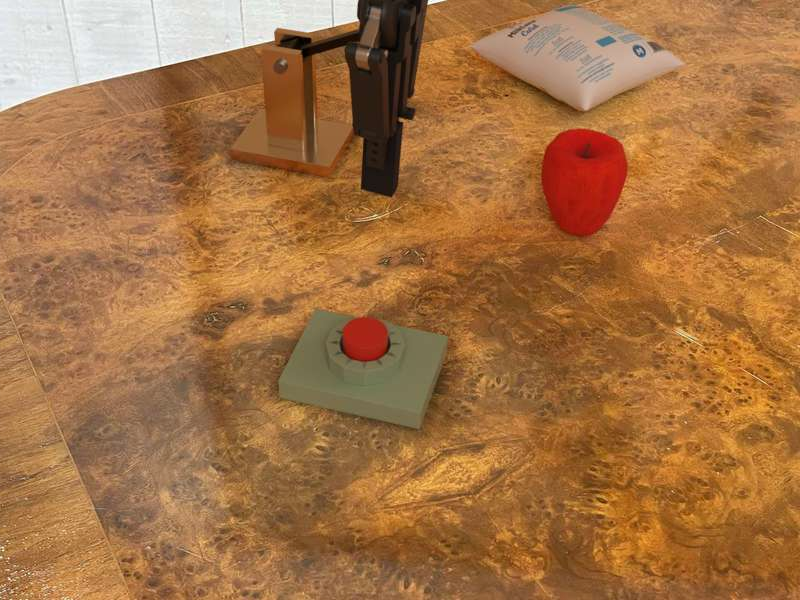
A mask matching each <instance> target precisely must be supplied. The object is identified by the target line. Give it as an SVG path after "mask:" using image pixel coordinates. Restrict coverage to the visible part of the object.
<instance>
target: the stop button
mask: <svg viewBox="0 0 800 600" xmlns="http://www.w3.org/2000/svg"><path fill="white" fill-rule="evenodd" d="M370 317H371V316H362V317H360V318H356V319H353V320H351V321H350V322H348V323H347V324H346V325H345V327H344V328H343V350H344V352H345V354H346V355H347V356H348V357H349V358H351V359H353V360H357V361H361V362H369V361H375V360H377V359H379V358H381V357H382V356H383V355H384V354H385V353H386V351H387V347H388V330H387V328H386V326H385V325H384V324H383V323H382V322H381V321H379V320H377V319H378V318H376V319H374V318H375V317H371V318H370Z"/></svg>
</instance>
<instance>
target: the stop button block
mask: <svg viewBox="0 0 800 600" xmlns="http://www.w3.org/2000/svg"><path fill="white" fill-rule="evenodd" d="M369 317H370V318H372V316H369ZM356 318H360V317H359V316H354V315H350V314H345V313H340V312H335V311H332V310H331V311H330V310H326V309H321V308H316V307H315V309H314V310H313V312H312V313H311V316H310V318H309V320H308V322H307V324H306V326H305V328H304V330H303V331H302V334H301V336H300V338H299V339H298V341H297V343H296V345H295V347H294V349H293V351H292V353H291V355H290V357H289V359H288V361H287V363H286V365H285V367H284V368H283V371H282V372H281V374H280V376H279V379H278V380H277V383H278V385H277V386H278V396H279V398H280V399H284V400H288V401H293V402H298V403H302V404H306V405H310V406H315V407H319V408H324V409H326V410H327V409H328V410H333V411H336V412H340V413H341V412H342V413H346V414H350V415H355V416H359V417H364V418H367V419H373V420H376V421H380V422H385V423H389V424H394V425H397V426H401V427H402V426H403V427H406V428H410V429H411V428H412V429H417V430H421V428H422V427H421V426H422V424H423V421H424V418H425V416H426V413H427V410H428V407H429V405H430V402H431V399H432V396H433V393H434V392H435V391H434V390H435V387H436V385H437V382H438V379H439V377H440V374H441V371H442V368H443V365H444V362H445V359H446V357H447V354H448V345H449V335H446V334H441V333H438V332H437V333H436V332H431V331H426V330H422V329H417V328H412V327H407V326H403V325H398V324H393V323H390V322H389V321H387V320H386V319H380V318H375V317H373V318H374V319H377V320H379V321H381V322H382V323H383V324H384V325H385V326H386V328H387V330H388V347H387V351H386V353H385V354H384V355H383V356H382V357H381V358H379V359H377V360H375V361H369V362H361V361H357V360H353V359H351V358H349V357H348V356H347V355H346V354H345V352H344V350H343V328H344V327H345V325H346V324H347V323H348V322H350V321H351V320H353V319H356Z"/></svg>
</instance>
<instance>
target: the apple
mask: <svg viewBox="0 0 800 600" xmlns="http://www.w3.org/2000/svg"><path fill="white" fill-rule="evenodd" d="M624 148H625V147H624V146H623V143H621V142H620V141H619V140H618V139H617V138H616V137H613V136H611V135H610V134H609V135H608V134H606V133H604V132H601V131H598V130H594V129H589V128H569V129H567V130H564V131H561V132H559V133H558V134H557V135H556V136H555V137H554V138H553V139H552V140H551V141H550V142H549V143H548V145H547V146H546V147H545V150H544V153H543V158H542V164H541V175H540V176H541V187H542V191H543V195H544V198H545V200H546V203H547V206H548V209H549V212H550V215H551V216H552V219H553V220H554V222H555V223H556V225H557V226H558V227H559V228H560V230H562V231H563V232H565V233H567V234H568V235H575V236H582V237H583V236H586V237H587V236H588V237H590V236H592V235H595V234H596V233H597V232H599V231H600V229H601V228H602V227H603V226H604V225H605V224H606V223H607V222H608V220H609V219H610V217H611V216H612V213H613V212H614V209H615V208H616V205H617V204H618V202H619V200H620V198H621V194H622V192H623V189H624V186H625V183H626V180H627V176H628V168H629V163H628V159H627V155H626V152H625V149H624Z"/></svg>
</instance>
